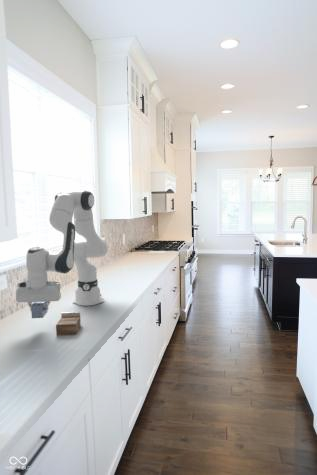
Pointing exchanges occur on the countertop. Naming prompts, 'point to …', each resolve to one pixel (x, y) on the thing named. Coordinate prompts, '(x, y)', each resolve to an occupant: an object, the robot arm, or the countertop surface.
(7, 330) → the countertop surface
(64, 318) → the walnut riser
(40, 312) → the block
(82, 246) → the robot arm
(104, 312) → the countertop surface
